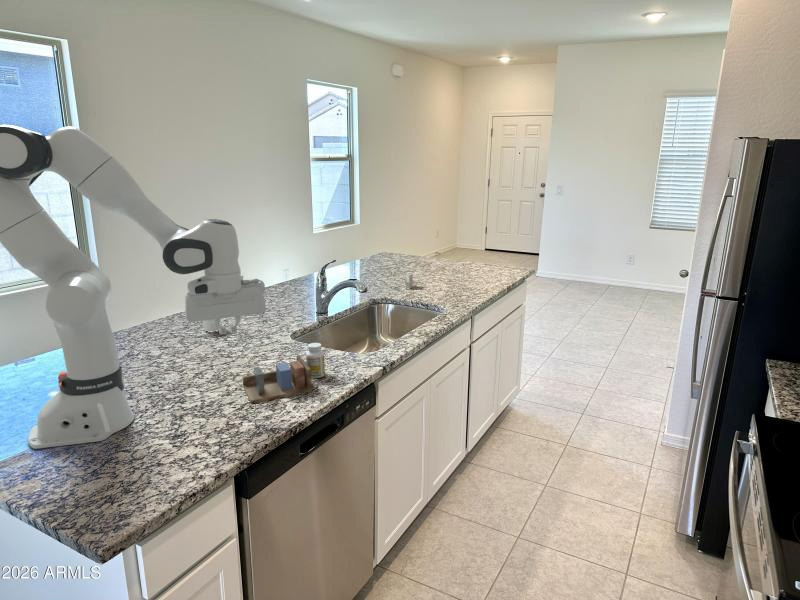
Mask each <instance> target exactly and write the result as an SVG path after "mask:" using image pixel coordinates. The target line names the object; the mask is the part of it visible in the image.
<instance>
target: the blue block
mask: <svg viewBox="0 0 800 600" xmlns="http://www.w3.org/2000/svg"><path fill="white" fill-rule="evenodd" d="M275 371H276V375H277V384H278V386H279V388H280V389H281V391H285V390H291V389H292V376H291V369H290V366H289V364H288V363H287V362H282V363H276V364H275Z"/></svg>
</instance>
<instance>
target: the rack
mask: <svg viewBox="0 0 800 600" xmlns="http://www.w3.org/2000/svg"><path fill="white" fill-rule="evenodd" d="M289 365H290V366H289V367H290V369H291V376H292V389H291V390H285V391H281V389H280V388H279V386H278V384H277V375H276V370H274V371H273V370H272V371H267V372H263V376H264V389H265V394H262V395H259V394H258V392H257V390H256V388H255V380H254V374H251V375H250V374H249V375H244V376H242V379H241V380H242V386H243V387H242V388H243V389H244V392H245V393H246V396H247V398H248V401H249V402H250V403H249V404H256V403H259V402H260V403H261V402H265V401H270V400H275V399H276V400H277V399H280V398H287V397H291V396H295V395H301V394H307V393H311V392H313V387H312V385H313V384H312V378H311V369H310V368H309V366H308V365H307V364H306V360H304V359H303V358H302V356H301V355H296V360H294V361H289Z"/></svg>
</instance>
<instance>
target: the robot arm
mask: <svg viewBox="0 0 800 600" xmlns="http://www.w3.org/2000/svg"><path fill="white" fill-rule="evenodd" d="M45 171H46V172H52V173H55V174H57V175H59V176H60V177H62V178H63V179H64V180H66V181H67V182H68V183H69V184H70V185H71V186H72V187H73V188H74V189H76V191H77V192H79V193H80V194H81V195H82V196H83V197H84V198H86V199H87V200H89V201H91V202H92V203H93V204H95V205H96V206H98V207H100V208H101V209H104V210H107V211H112V212H115V213H118V214H122V215H124V216H126V217H128V218H129V219H131V220H133V222H135V223H136V224H137V225H138V226H140V227H141V228H142V229H143V230H144V231H146V232H147V233H148V234H149V235H150V236H152V238H154V239H155V240H156V241H157V242H158V244H159V246H160V248H161V249H162V260H163V261H162V262H163V263H164V265H165V266H166V267H167V268H168V270H170V271H171V272H173V273H175V274H178V275H189V274H192V273H198V272H201V271H204V275H202V276H201V277H197V278H195V279H193V280H190V281H188V283H187V286H186V287H187V291H188V292H187V293H186V295H185V298H184V299H185V300H184V316H185V320H186V321H187V322H189V323H195V322H196V323H197V322H203V321H205V320H212V319H214V322H215V324H216V325H217V326H218V327H219V331H218V332H219V335H226V334H227V329H226V326H225V325H221V319H226V318H234V322H233V324H230V325H229V328H230V333H232V334H234V333H238V326H239V324H240V321H241V316H242V317H243V316H250V315H257V314H263V313H265V311H266V309H267V306H266V305H267V304H266V300H265V295H264V294H265V292H266V286H265V283H264V281H263V280H261V279H258V278H253V279H243V280H241V274H242V273H241V267H240V264H239V256H240V249H239V248H240V247H239V239H238V234H237V232H236V228H235V226H233V224H232V223H231V222H229V221H226V220H222V219H217V218H207V219H203V220H202V221H201V222H200V223H199V224H197V225H196V226H194V227H192V228H191V229H188V228H186V227H183V226H181V225H178V224H177V223H175V222H174V221H173V220H172V219H170V217H168V215H166V214H165V213H164V212H163V211H162V210H161V209H159V207H157V205H155V203H153V202H152V201H151V200H150V199H149V198H148V197H147V196H146V194H145V192H144V191H143V190H142V188H141V186H139V184H138V183H137V181H136V180H135V179H134V178H133V176H132V175H131V174H130V172H129V171H128V170H127V168H126V167H125V166H124V165H123V164H122V163H121V162H120V161H119V160H118V159H117V158H116V157H115V156H114V155H113V154H112V153H111V152H110V151H108V150H107V149H106V148H105V147H104V146H103V145H101V144H100V143H99V142H98V141H96V140H95V139H94V138H92V137H91V136H89V135H88V134H87V133H85V132H83V131H82V130H81V129H79V128H76V127H75V126H63V127H60V128H57V129H56V130H54V131H52V132H51V133H49V134H48V135H44V134H42V133H39V132H36V131H33V130H30V129H26V128H24V127H21V126H17V125H11V124H0V244H1V245H2V246H3V247H4V248H5V250H6V251H7V252H8V253H9V254H10V255H11V257H13V259H14V260H15V261H16V262H17V263H18V264H19V265H20V267H22V268H23V269H25V270H28V271H29V272H31V273H32V274H34V275H35V276H36V277H37V278H39V280H41V281H42V282H44V283H45V284H46V285H47V286H48V287H49V290H48V292H47V294H46V299H45V309H46V312H47V315H48V317H49V318H50V319H51V321H52V324H53V327H54V329H55V332H56V334H57V337H58V339H59V341H60V342H59V343H60V345H61V348H62V353H63V358H64V364H65V369H66V371H60V372H59V373H58V376H57V379H58V389H59V391H58V392H57V393H56V394H54V396H53V397H51V398H50V399H49V400H48V401H46V402H45V403H44V404H43V406H42V407H41V408H40V410H39V412H38V416H37V422H36V424H35V425H33V427H31V429H30V431H29V433H28V437H27V438H28V440H27V441H28V442H27V443H28V445H29V446H30V447H31V448H32V449H35V450H36V449H44V448H45V449H46V448H52V447H62V446H68V445H69V446H70V445H77V444H78V445H80V444H87V443H95V442H96V443H97V442H101V441H105V440H106V439H108V438H109V437H111V435H113V434H115V433H117V432H119V431H121V430H124V429H125V428H127V427H128V426H129V425H130V424H131V423H132V422H133V421H134V419H135V414H134V412H133V411H132V409H131V406H130V404H129V402H128V401H129V400H128V399H127V396H126V393H125V378H124V371H123V369H122V366H121V365H120V364H119V363H120V362H119V356H118V351H117V343H116V339H115V338H116V336H115V334H113V330H112V327H111V325H110V321H109V317H108V312H107V302H108V300H109V299H110V296H111V293H112V284H111V279H110V278H109V276H108V274H107V273H106V272H105V270H103V269H101V268H99V266H98V265H97V264H96V263H94V261H93V260H92V259H91V258H90V257H88V255H86V254H85V252H83V251H82V250H81V249H80V248H79V247H78V246H77V245H76V244H74V243H73V242H72V240H70V238H68V236H67V235H66V234H65V233H64V232H63V230H62V229H61V228H60V227H59V226H58V224H57V223H56V221H54V219H53V218H52V217H51V216H50V214H49V213H48V212H47V211H46V210H45V208H44V207H43V206H42V205H41V204H40V202H39V201H38V200H37V199H36V197H35V196H34V194H33V193H32V191H31V188H30V186H32V184H33V183H35V181H36V180H37V179H38V178H39V177H40V176H41V175H42V174H43V173H44V172H45ZM219 322H220V324H219Z"/></svg>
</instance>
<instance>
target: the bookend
mask: <svg viewBox="0 0 800 600" xmlns="http://www.w3.org/2000/svg"><path fill="white" fill-rule="evenodd" d="M263 373H264V372H263V371H262V369H261V368H260V366H256V367H253V375H254V380H255V388H256V390H257V392H258V394H259V395H262V394H265V389H264V376H263Z"/></svg>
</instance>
